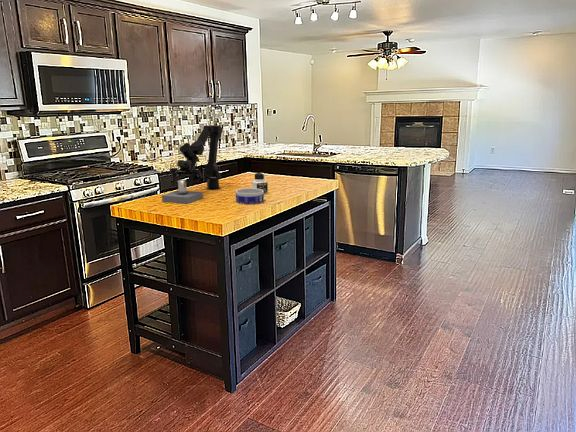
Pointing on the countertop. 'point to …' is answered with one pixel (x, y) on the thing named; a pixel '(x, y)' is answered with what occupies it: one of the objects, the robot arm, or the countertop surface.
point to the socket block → (182, 197)
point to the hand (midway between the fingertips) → (180, 186)
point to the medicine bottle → (260, 182)
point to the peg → (182, 187)
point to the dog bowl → (249, 195)
